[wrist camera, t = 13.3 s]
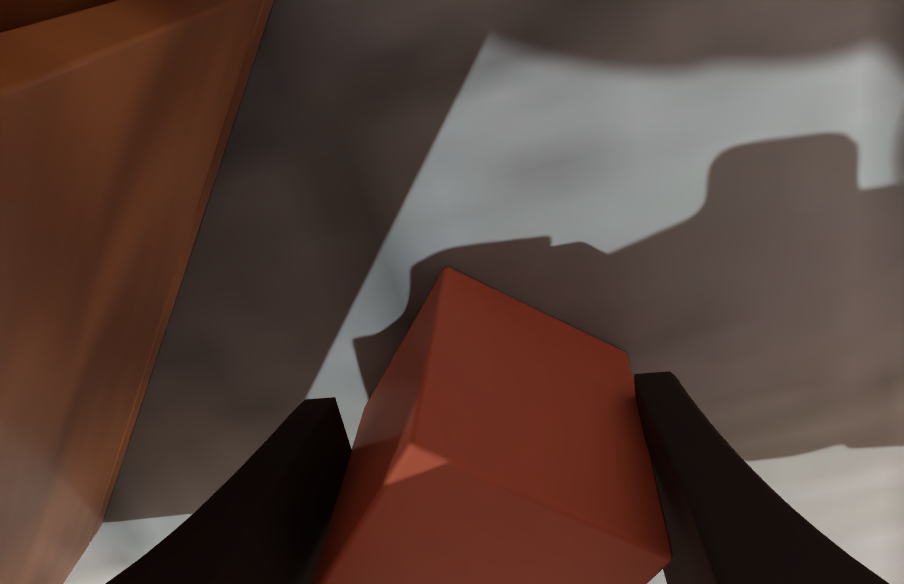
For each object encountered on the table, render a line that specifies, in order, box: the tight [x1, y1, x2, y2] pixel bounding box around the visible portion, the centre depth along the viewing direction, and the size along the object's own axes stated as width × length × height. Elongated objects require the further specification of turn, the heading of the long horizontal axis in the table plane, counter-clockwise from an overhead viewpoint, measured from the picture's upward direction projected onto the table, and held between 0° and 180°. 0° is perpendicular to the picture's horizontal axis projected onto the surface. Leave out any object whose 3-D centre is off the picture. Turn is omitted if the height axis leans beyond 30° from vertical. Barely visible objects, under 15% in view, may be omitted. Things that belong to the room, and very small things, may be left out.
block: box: [311, 267, 673, 584], centre depth 12 cm, size 4×4×5 cm
